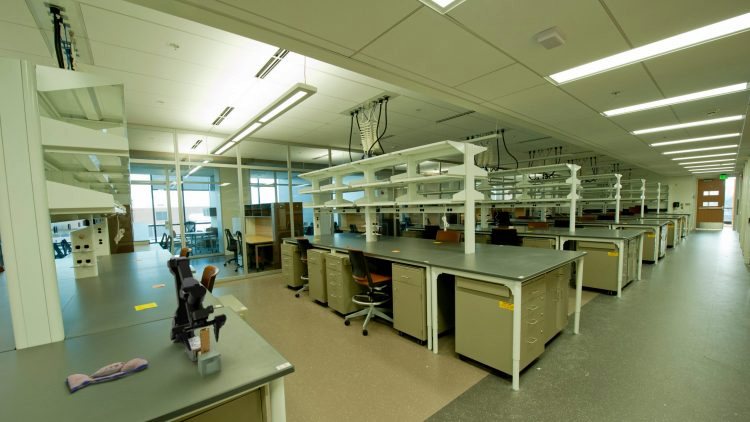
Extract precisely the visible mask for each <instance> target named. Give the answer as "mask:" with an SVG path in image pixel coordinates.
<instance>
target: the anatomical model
mask: <svg viewBox="0 0 750 422" xmlns="http://www.w3.org/2000/svg"><path fill="white" fill-rule="evenodd" d="M148 366H149V362H148V361H147V359H143V358H142V357H137V358H133V359H131V360H129V361H128V362H127V363H126V362H124V361H120V362H114V363H112V364H109V365H106V366H103V367H101V368H100V369H98V370H97V371H95V372H94V373H93V374H91V375H89V376H88V375H87V374H83V373H82V374H81V373H75V374H71V375H69V376H67V377H66V382H67V384H68V387H69V389H70V390H71V392H74V391H76V390H78V389H81V388H84V387H86V386H88V385H89V384H91V383H98V382H102V381H105V380H111V379H113V380H114V379H117V378H119V377H122V376H125V375H127V374H129V373H132V372H135V371H139V370H143V369H145V368H146V367H148Z"/></svg>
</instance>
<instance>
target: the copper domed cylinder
mask: <svg viewBox="0 0 750 422" xmlns="http://www.w3.org/2000/svg"><path fill="white" fill-rule="evenodd" d="M199 337H200V345H201V349H199V350H196V356H197V357H198V355H201V354H203V353H206V352H209V351H211V348H210V347H211V345H210V344H211V342H210V328H208V327H204V328H200V330H199Z"/></svg>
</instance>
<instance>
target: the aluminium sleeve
mask: <svg viewBox="0 0 750 422" xmlns="http://www.w3.org/2000/svg"><path fill="white" fill-rule="evenodd" d="M188 340H189V343H190V346H191V351H189V350H188V349H187V348H186V347H185V346H184V349H185V350H184V351H185V353H186V354H187V356H188V357H189V359H190V360H191V361H192V362H196V361H197V362H198V357H197V356H196V350H199V349H201V345H200V335H196V336H194V337H193V338H190V339H188Z"/></svg>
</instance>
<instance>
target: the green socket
mask: <svg viewBox="0 0 750 422" xmlns="http://www.w3.org/2000/svg"><path fill="white" fill-rule="evenodd" d="M221 359H222V357H221V353H220V352H219V351H218V350H217V349H213V350H210V351H209V352H206V353H203V354H201V355H198V360H197V371H198V373H199V375H200V376H201V378H205V377H207V376H210V375H213V374H216V373H218V372H220V371H222V360H221Z"/></svg>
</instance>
